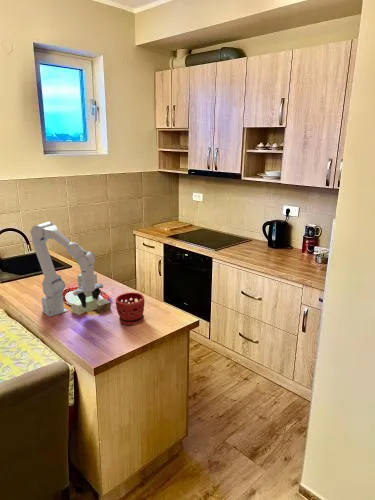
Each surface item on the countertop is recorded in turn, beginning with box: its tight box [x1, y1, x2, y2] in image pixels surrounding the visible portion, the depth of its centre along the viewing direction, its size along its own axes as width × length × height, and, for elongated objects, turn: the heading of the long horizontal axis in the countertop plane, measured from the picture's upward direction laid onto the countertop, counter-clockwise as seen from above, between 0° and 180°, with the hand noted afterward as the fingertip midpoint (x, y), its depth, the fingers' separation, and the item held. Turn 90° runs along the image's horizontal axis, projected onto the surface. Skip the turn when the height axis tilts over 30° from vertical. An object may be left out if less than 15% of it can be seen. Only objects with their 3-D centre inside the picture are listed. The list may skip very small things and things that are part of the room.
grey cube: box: [70, 299, 87, 316], centre depth 178 cm, size 5×5×5 cm
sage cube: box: [82, 296, 98, 313], centre depth 171 cm, size 5×5×5 cm
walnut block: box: [95, 298, 112, 314], centre depth 181 cm, size 6×6×4 cm
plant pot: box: [115, 292, 145, 326], centre depth 168 cm, size 13×13×12 cm
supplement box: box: [76, 272, 98, 297], centre depth 195 cm, size 7×7×13 cm
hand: (89, 305), depth 171 cm, fingers closed on sage cube, 5 cm apart
